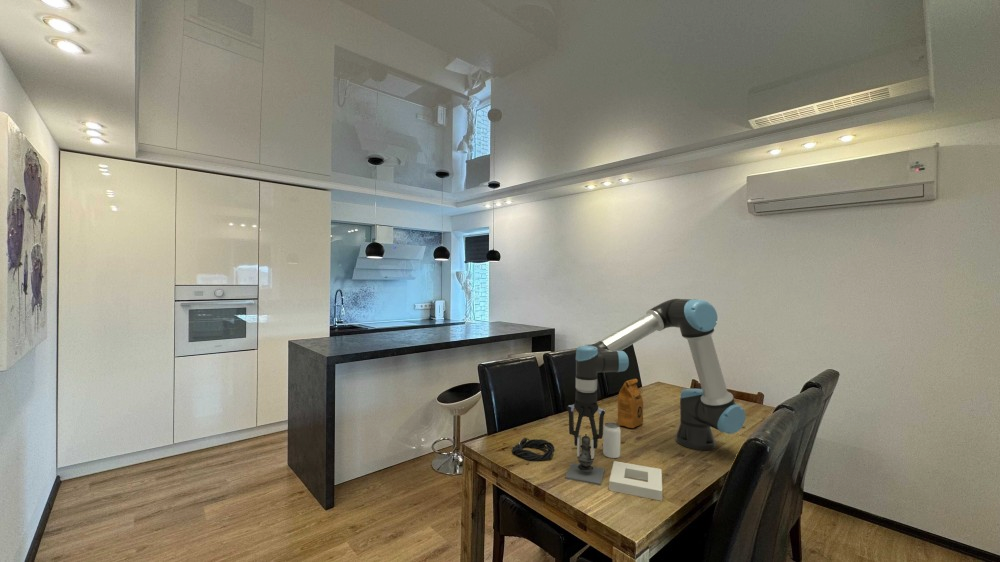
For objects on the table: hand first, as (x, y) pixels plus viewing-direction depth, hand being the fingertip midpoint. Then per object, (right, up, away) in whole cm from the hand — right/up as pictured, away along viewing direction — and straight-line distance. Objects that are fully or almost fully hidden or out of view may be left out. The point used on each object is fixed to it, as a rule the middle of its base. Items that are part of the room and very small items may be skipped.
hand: (585, 455), depth 137 cm
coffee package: (+33, -8, +50) cm, 61 cm away
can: (+14, -7, +16) cm, 22 cm away
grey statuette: (0, -4, 0) cm, 4 cm away
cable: (-17, -7, +16) cm, 25 cm away
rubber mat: (0, -6, 0) cm, 6 cm away
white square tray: (+16, -7, -7) cm, 18 cm away
